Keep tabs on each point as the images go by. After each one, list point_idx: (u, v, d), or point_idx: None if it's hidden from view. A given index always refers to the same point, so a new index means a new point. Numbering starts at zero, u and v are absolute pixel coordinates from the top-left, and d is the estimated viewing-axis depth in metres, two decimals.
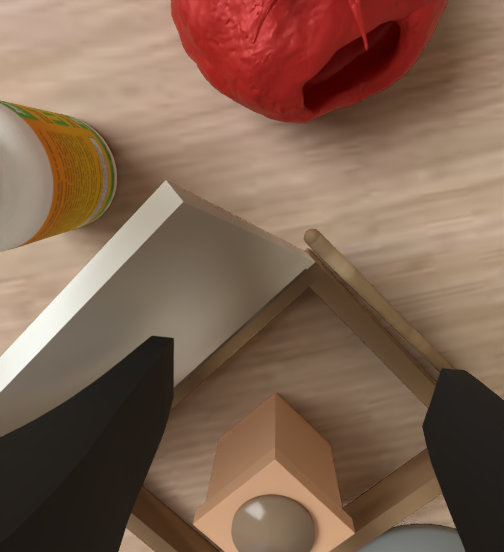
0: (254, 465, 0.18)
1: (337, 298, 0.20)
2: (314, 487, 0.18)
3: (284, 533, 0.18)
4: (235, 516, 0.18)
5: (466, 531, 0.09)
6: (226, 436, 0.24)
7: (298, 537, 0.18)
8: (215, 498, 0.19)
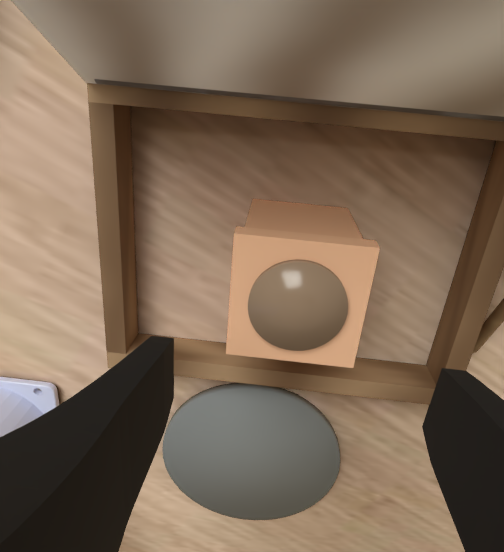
0: (342, 238, 0.15)
1: None
2: None
3: (307, 316, 0.15)
4: (286, 263, 0.15)
5: (466, 531, 0.09)
6: (267, 202, 0.20)
7: (314, 330, 0.16)
8: (273, 232, 0.15)
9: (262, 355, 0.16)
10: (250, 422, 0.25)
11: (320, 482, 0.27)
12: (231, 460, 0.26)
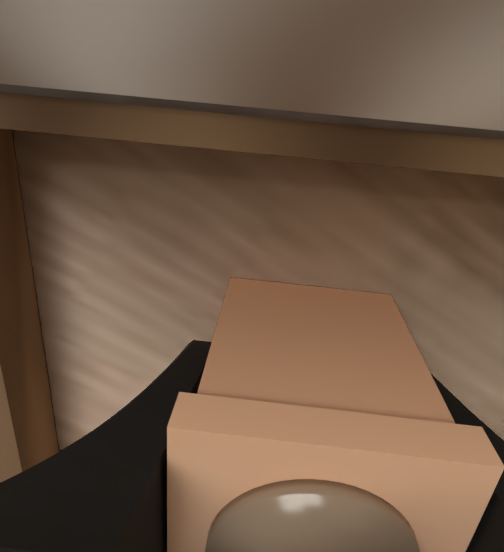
0: (411, 427, 0.07)
1: None
2: None
3: None
4: (286, 493, 0.06)
5: None
6: (254, 286, 0.11)
7: None
8: (258, 413, 0.07)
9: None
10: None
11: None
12: None
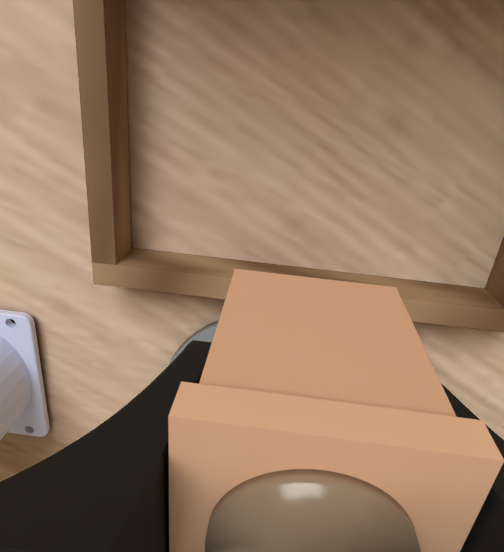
0: (411, 419, 0.07)
1: None
2: None
3: None
4: (285, 482, 0.06)
5: None
6: (258, 278, 0.11)
7: None
8: (258, 403, 0.07)
9: None
10: None
11: None
12: None
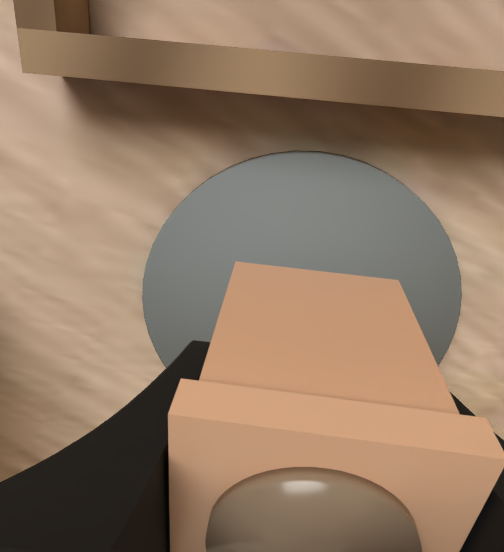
0: (413, 417, 0.07)
1: None
2: None
3: None
4: (286, 480, 0.06)
5: None
6: (259, 271, 0.11)
7: None
8: (259, 401, 0.07)
9: None
10: (302, 231, 0.14)
11: None
12: None
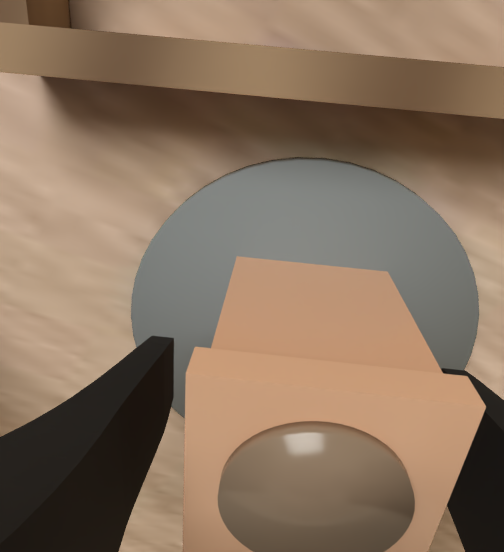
0: (404, 375, 0.08)
1: None
2: None
3: (334, 520, 0.08)
4: (292, 433, 0.07)
5: (466, 531, 0.09)
6: (259, 263, 0.12)
7: (345, 541, 0.08)
8: (266, 363, 0.08)
9: None
10: (305, 245, 0.12)
11: None
12: None
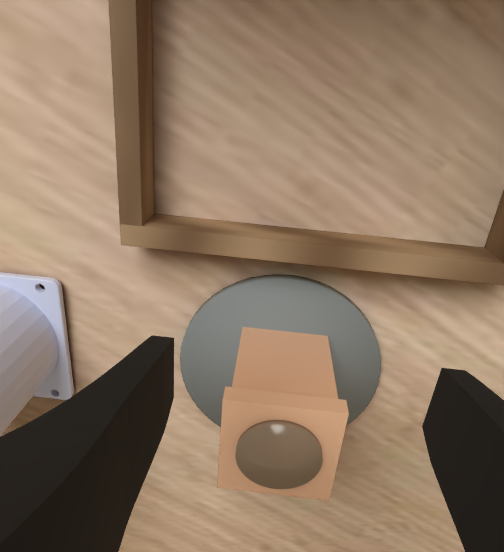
0: (317, 399, 0.17)
1: None
2: None
3: (287, 464, 0.18)
4: (267, 424, 0.17)
5: (466, 531, 0.09)
6: (255, 332, 0.22)
7: (293, 474, 0.18)
8: (257, 394, 0.17)
9: (249, 489, 0.19)
10: (281, 321, 0.22)
11: (357, 395, 0.24)
12: None
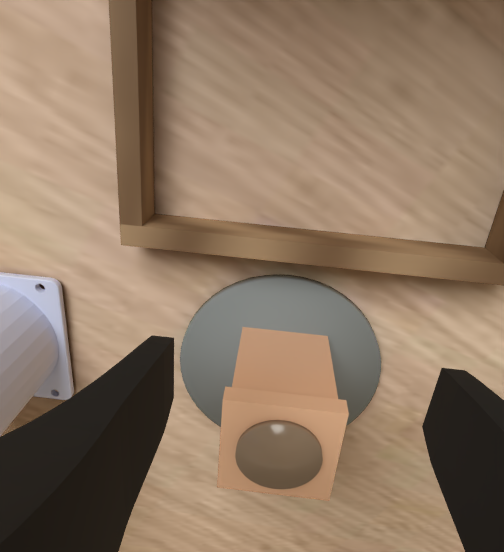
0: (317, 400, 0.17)
1: None
2: None
3: (287, 464, 0.18)
4: (267, 425, 0.17)
5: (466, 531, 0.09)
6: (255, 332, 0.22)
7: (293, 474, 0.18)
8: (257, 394, 0.17)
9: (249, 489, 0.19)
10: (281, 321, 0.22)
11: (357, 395, 0.24)
12: None
